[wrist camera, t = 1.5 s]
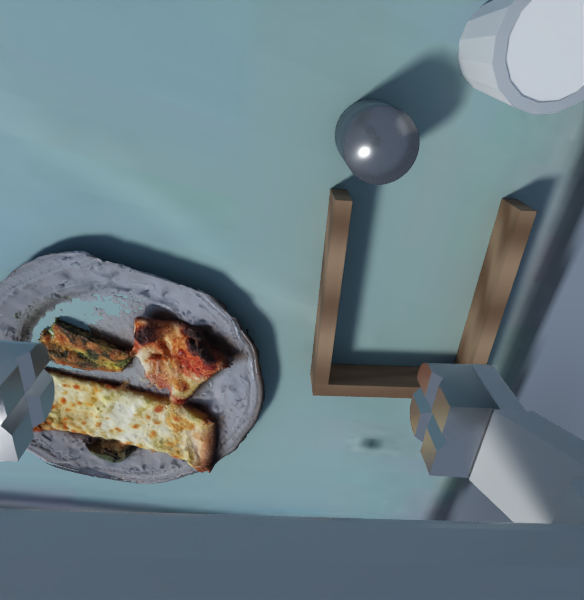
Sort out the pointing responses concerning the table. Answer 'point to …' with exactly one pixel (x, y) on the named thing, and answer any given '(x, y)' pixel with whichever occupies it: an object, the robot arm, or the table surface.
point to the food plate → (135, 371)
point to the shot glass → (526, 53)
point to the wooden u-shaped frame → (479, 325)
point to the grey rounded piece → (377, 141)
